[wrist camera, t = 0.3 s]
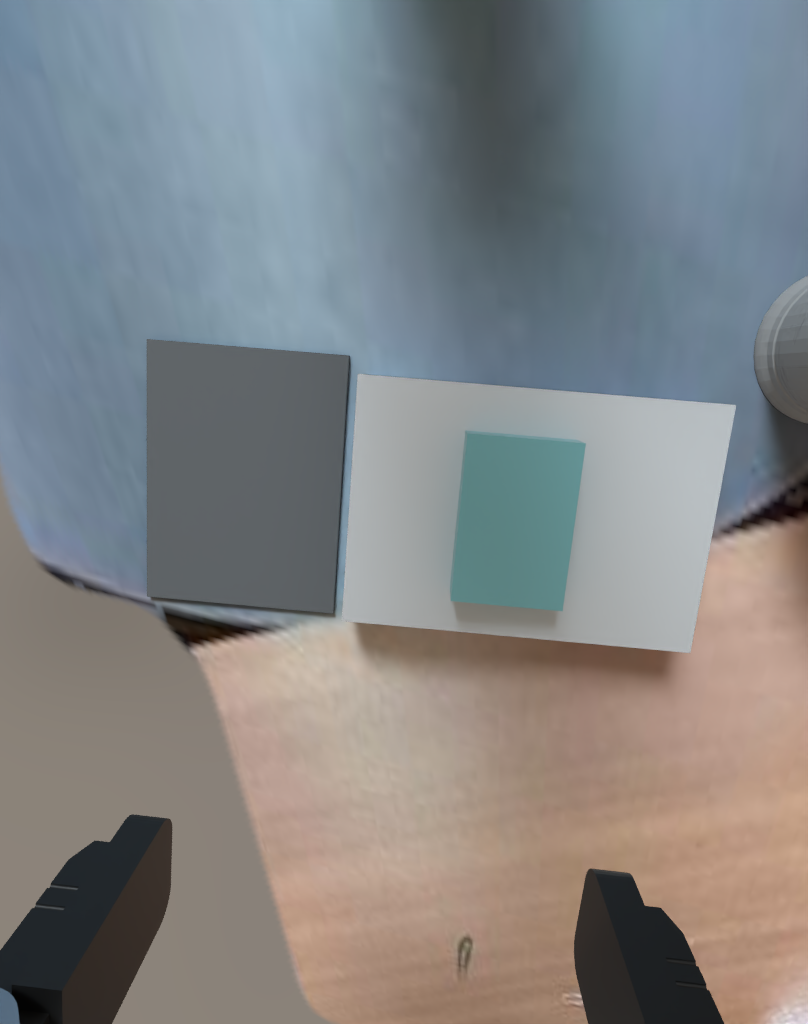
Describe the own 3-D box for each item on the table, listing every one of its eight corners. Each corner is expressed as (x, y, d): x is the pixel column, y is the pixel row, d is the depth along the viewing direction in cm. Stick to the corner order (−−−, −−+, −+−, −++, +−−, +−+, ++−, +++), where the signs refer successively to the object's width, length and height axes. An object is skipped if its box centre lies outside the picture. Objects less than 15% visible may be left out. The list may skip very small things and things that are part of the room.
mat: (149, 339, 38) (146, 339, 38) (349, 356, 38) (348, 355, 37) (149, 594, 41) (147, 596, 41) (333, 611, 41) (333, 613, 41)
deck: (365, 374, 38) (357, 373, 34) (704, 402, 38) (736, 405, 34) (350, 598, 41) (341, 620, 37) (665, 626, 40) (690, 652, 36)
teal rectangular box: (465, 430, 34) (467, 433, 32) (577, 439, 34) (585, 443, 32) (449, 589, 36) (450, 600, 34) (555, 598, 36) (562, 611, 34)
